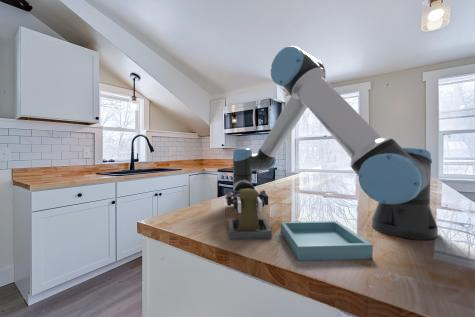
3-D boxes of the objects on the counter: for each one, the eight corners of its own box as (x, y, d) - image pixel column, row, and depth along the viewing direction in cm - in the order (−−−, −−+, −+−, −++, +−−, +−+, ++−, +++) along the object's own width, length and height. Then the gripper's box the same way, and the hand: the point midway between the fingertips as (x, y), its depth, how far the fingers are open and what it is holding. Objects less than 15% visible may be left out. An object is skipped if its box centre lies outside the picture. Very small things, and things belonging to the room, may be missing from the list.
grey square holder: (264, 224, 70) (264, 218, 70) (271, 238, 59) (271, 231, 59) (229, 225, 69) (229, 219, 69) (229, 239, 58) (229, 232, 58)
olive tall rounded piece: (258, 231, 61) (257, 191, 60) (236, 230, 62) (235, 190, 61) (260, 224, 67) (260, 187, 66) (240, 223, 68) (240, 186, 67)
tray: (336, 231, 64) (336, 220, 64) (372, 258, 48) (372, 244, 48) (280, 232, 63) (280, 222, 63) (298, 260, 47) (298, 246, 47)
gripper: (268, 201, 82) (284, 220, 59) (219, 201, 82) (216, 222, 58) (268, 180, 82) (284, 192, 59) (219, 181, 81) (215, 193, 58)
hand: (250, 207), depth 59 cm, fingers closed on olive tall rounded piece, 5 cm apart
